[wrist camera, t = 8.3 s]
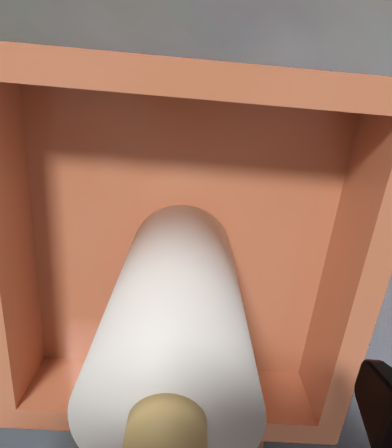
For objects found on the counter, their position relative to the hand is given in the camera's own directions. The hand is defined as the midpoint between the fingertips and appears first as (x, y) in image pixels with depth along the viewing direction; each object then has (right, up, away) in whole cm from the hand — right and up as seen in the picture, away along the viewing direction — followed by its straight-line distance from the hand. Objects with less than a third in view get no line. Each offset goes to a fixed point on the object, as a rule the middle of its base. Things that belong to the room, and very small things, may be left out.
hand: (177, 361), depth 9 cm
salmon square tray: (0, +2, +7) cm, 7 cm away
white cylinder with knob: (0, +2, +6) cm, 7 cm away
